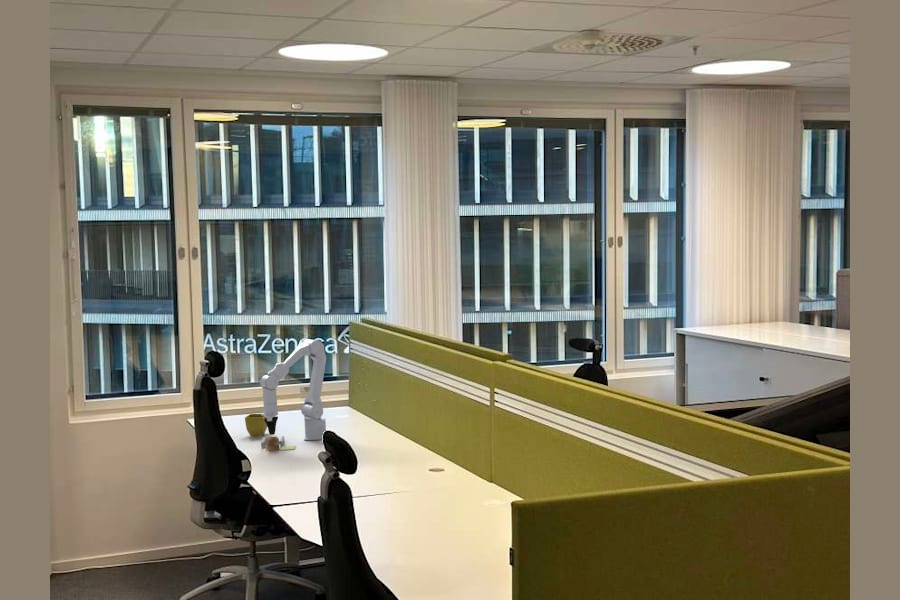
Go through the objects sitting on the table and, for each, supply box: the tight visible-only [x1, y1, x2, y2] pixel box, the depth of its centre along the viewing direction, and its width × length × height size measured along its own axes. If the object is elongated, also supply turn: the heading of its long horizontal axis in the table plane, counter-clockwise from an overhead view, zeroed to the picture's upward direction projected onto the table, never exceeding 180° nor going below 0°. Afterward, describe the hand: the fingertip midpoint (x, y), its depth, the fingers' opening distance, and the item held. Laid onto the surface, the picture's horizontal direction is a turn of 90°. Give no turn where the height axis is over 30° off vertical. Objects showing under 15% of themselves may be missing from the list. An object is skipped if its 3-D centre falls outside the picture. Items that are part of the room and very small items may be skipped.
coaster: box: [279, 445, 297, 451], centre depth 392 cm, size 6×6×1 cm
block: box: [265, 436, 280, 452], centre depth 391 cm, size 4×4×5 cm
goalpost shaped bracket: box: [260, 435, 286, 449], centre depth 399 cm, size 9×10×2 cm
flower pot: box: [244, 413, 268, 437], centre depth 420 cm, size 9×9×9 cm
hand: (272, 434), depth 397 cm, fingers closed
